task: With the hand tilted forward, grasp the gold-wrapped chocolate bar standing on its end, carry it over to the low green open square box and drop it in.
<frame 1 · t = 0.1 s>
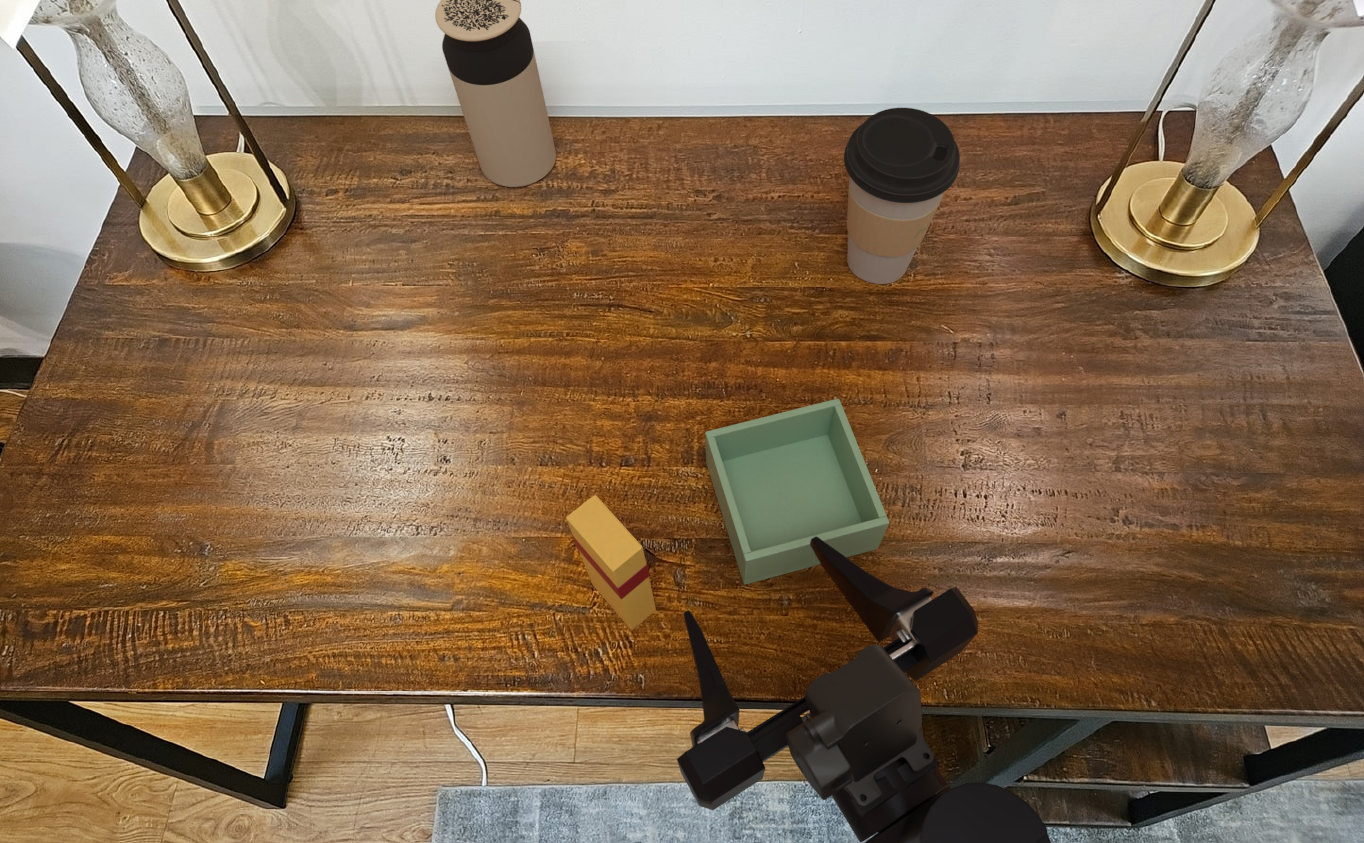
hand: (750, 575, 55), 15 cm above the table, tool horizontal, fingers open, 9 cm apart
green open square box: (789, 504, 73), on the table
travel mug: (519, 162, 93), on the table
coffee cup: (876, 261, 85), on the table
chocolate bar: (623, 597, 70), on the table
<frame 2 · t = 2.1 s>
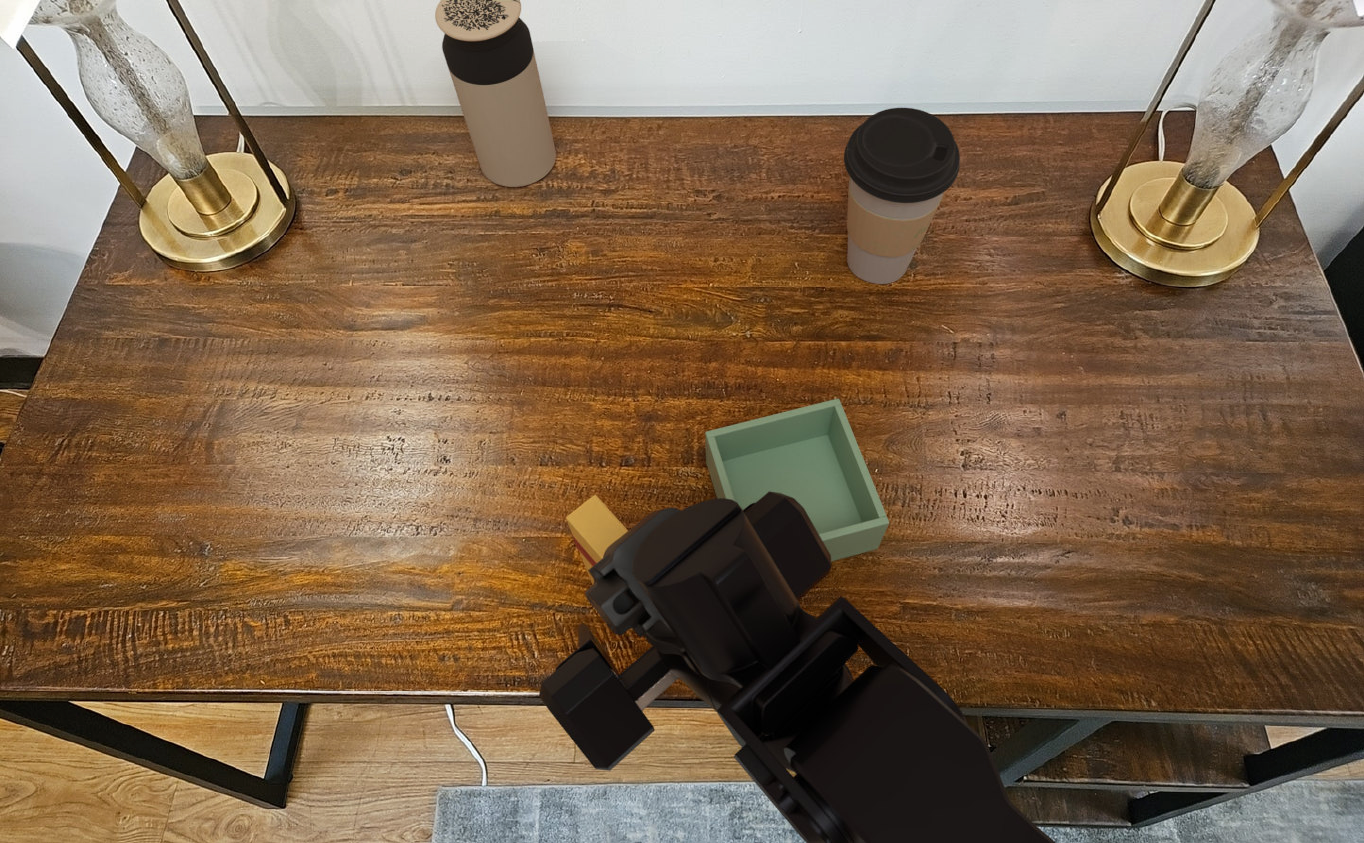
hand: (637, 584, 60), 10 cm above the table, tool tilted 45°, fingers open, 9 cm apart
nothing on the table moved.
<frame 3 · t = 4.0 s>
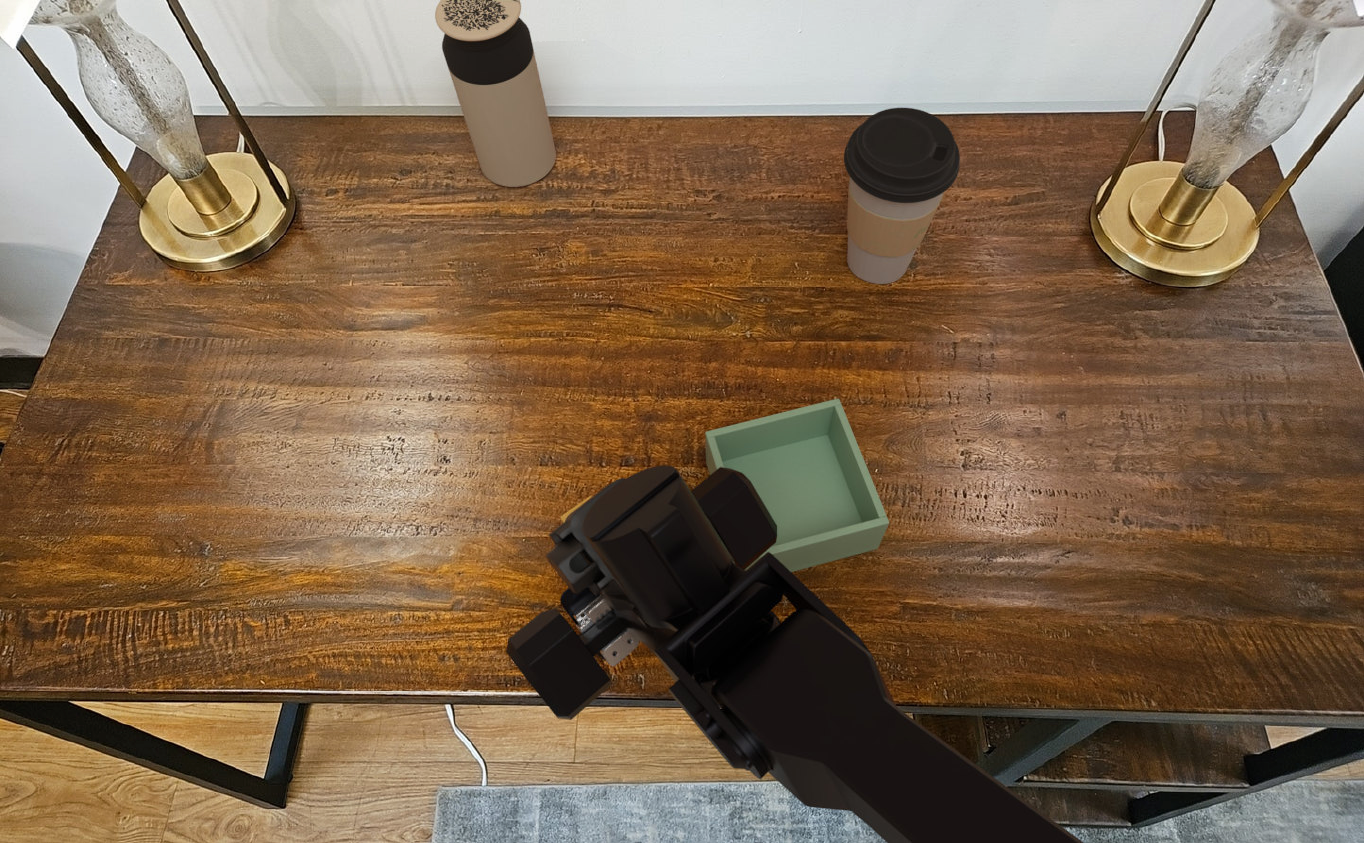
hand: (602, 555, 65), 7 cm above the table, tool tilted 45°, fingers closed on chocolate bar, 3 cm apart
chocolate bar: (627, 595, 70), on the table, touching gripper
everything else where it was.
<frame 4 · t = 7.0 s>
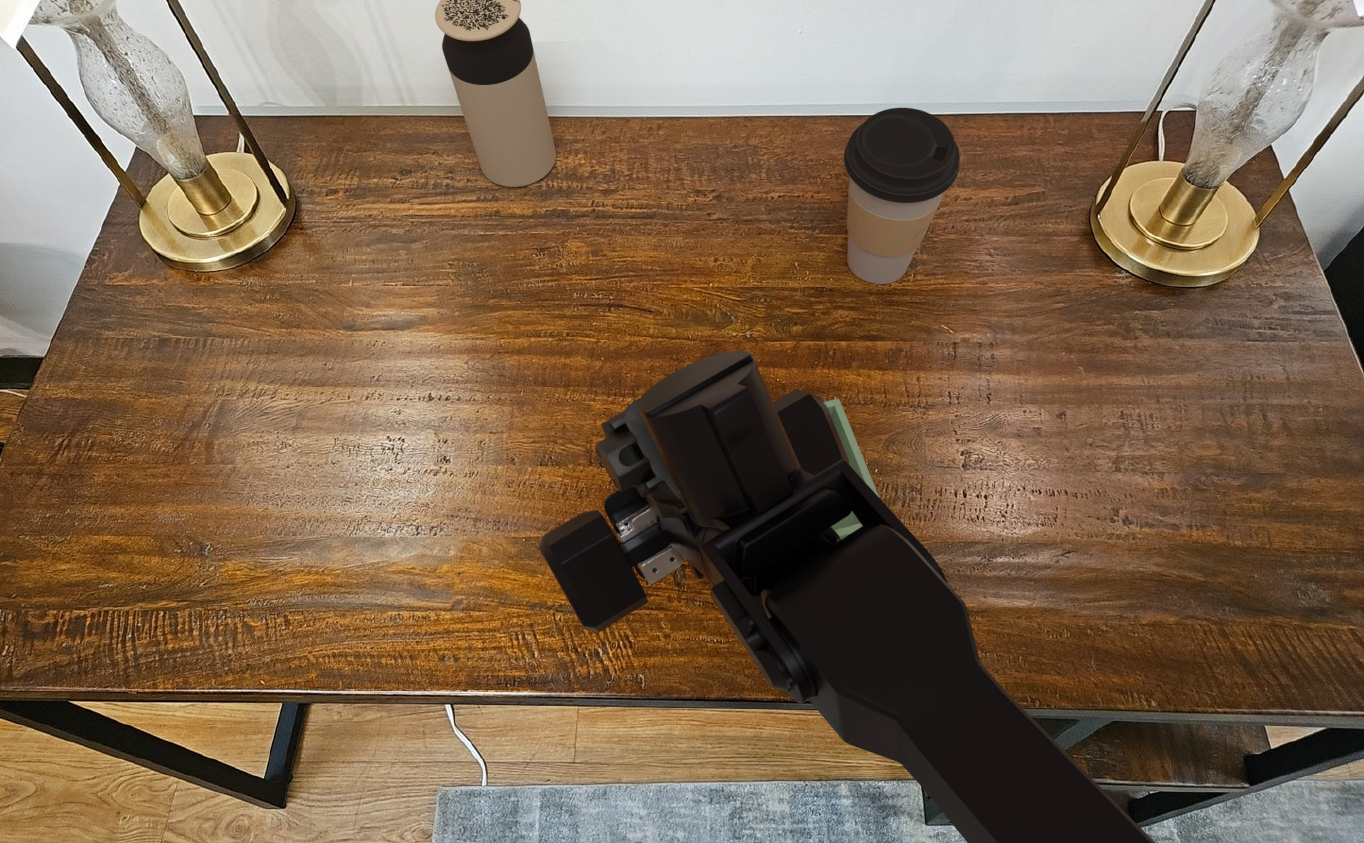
hand: (655, 474, 60), 13 cm above the table, tool tilted 45°, fingers closed on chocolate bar, 3 cm apart
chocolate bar: (675, 526, 65), point 7 cm above the table, touching gripper
everything else where it was.
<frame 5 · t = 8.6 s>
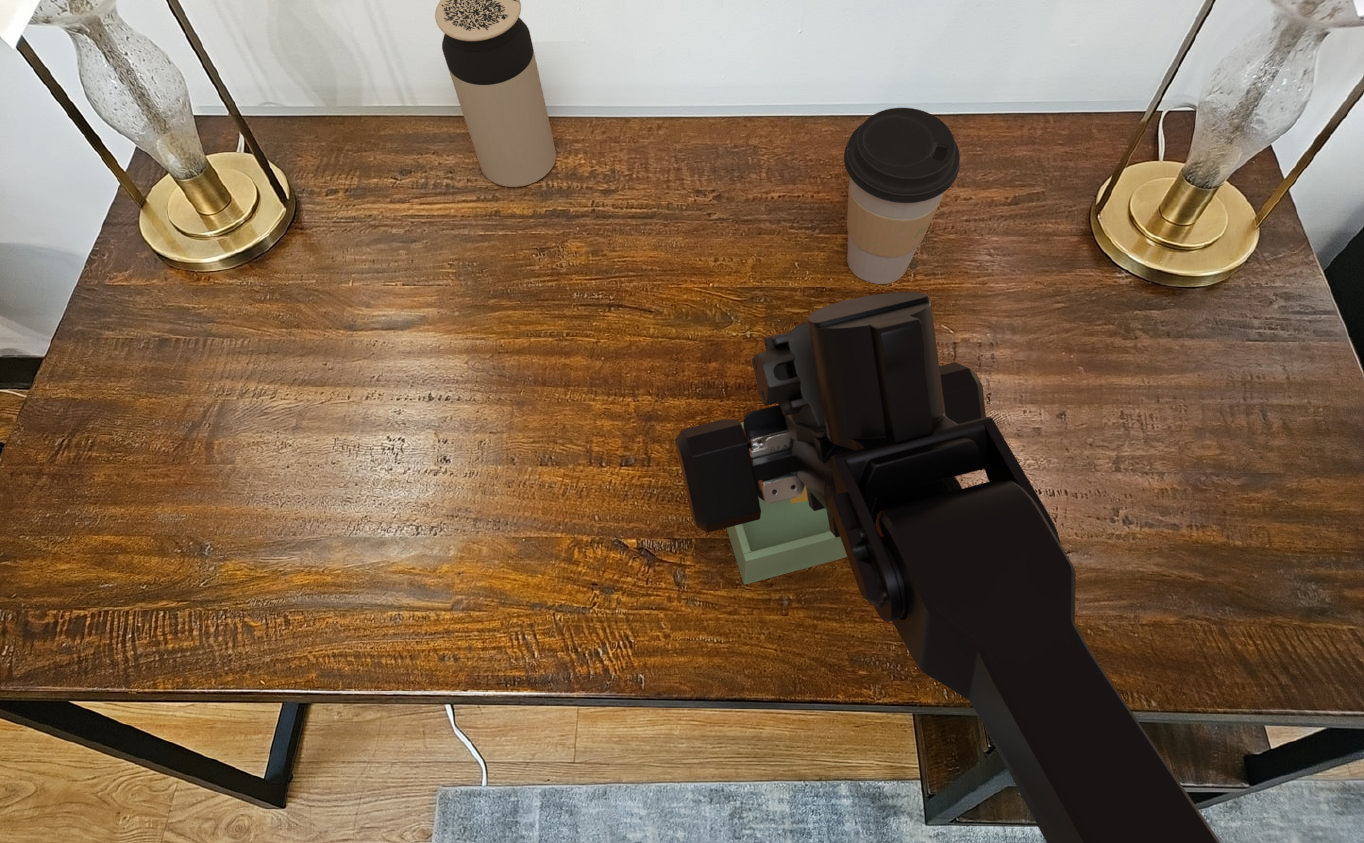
hand: (796, 412, 62), 13 cm above the table, tool tilted 45°, fingers closed on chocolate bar, 3 cm apart
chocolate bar: (800, 471, 67), point 7 cm above the table, touching gripper
everything else where it was.
when the fingers open (9 cm above the table, at t = 10.0 s): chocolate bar drops 2 cm, resting on green open square box.
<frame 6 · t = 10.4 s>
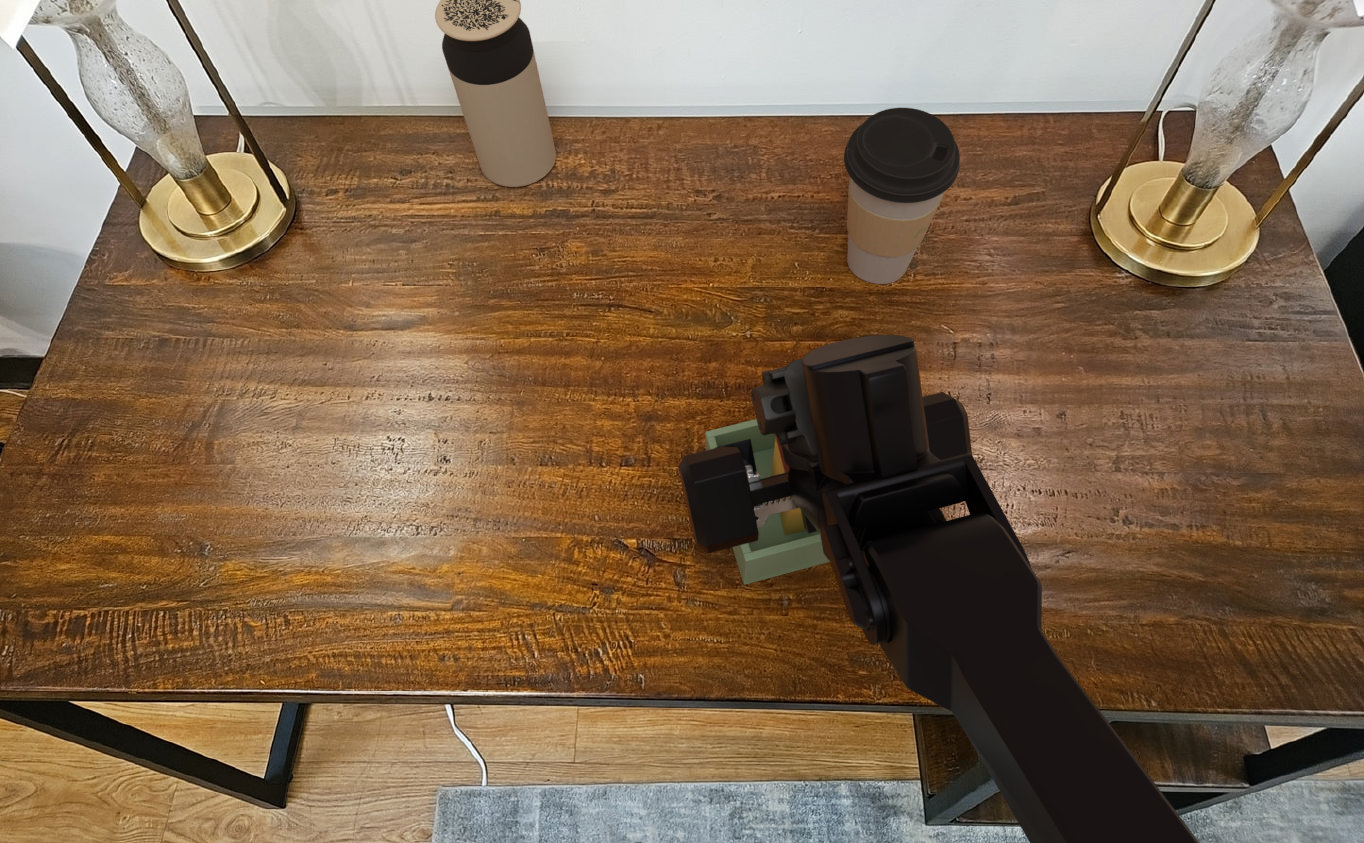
hand: (792, 436, 65), 10 cm above the table, tool tilted 45°, fingers open, 7 cm apart
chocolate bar: (792, 503, 73), point 1 cm above the table, touching green open square box
everything else where it was.
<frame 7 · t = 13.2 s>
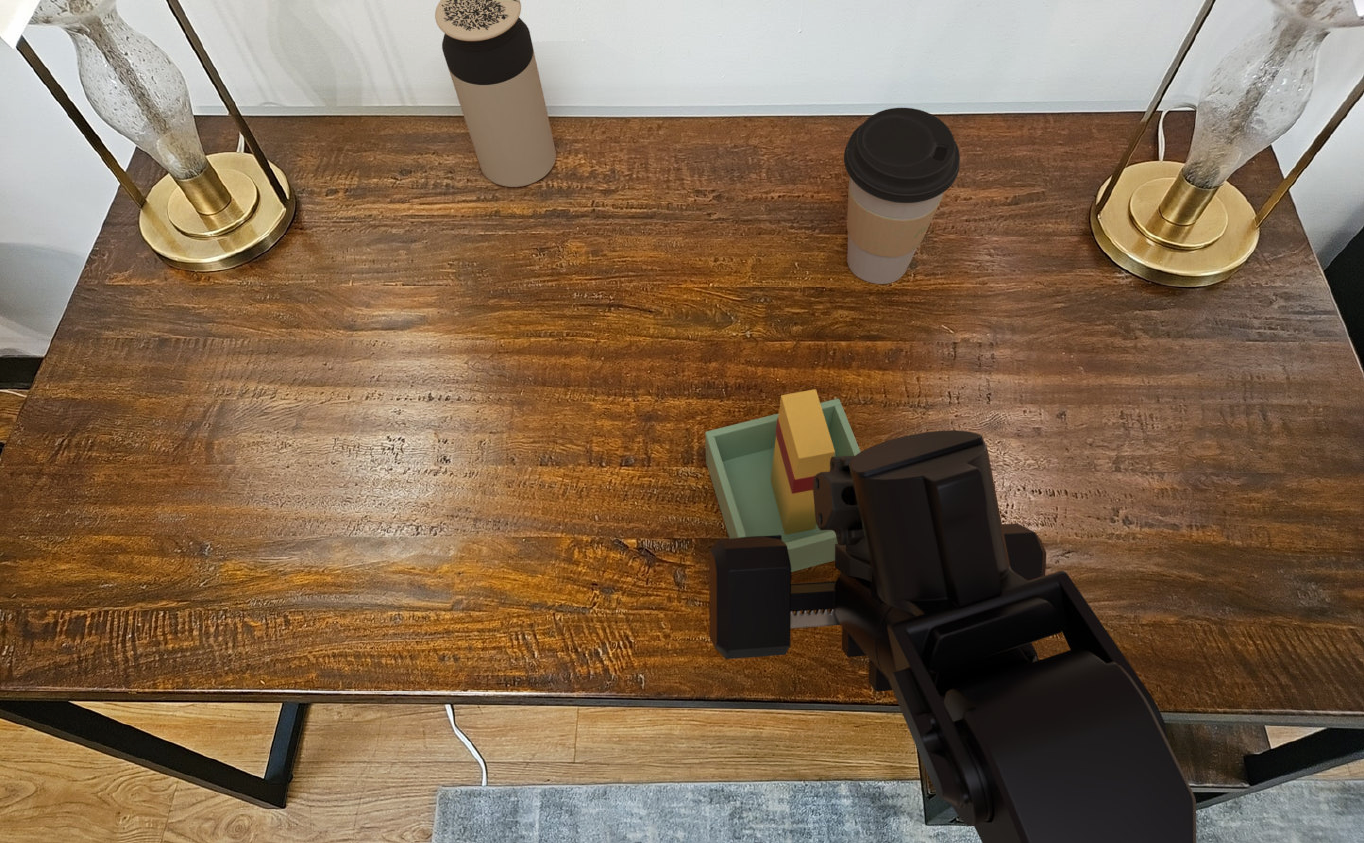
hand: (830, 545, 58), 13 cm above the table, tool tilted 40°, fingers open, 9 cm apart
nothing on the table moved.
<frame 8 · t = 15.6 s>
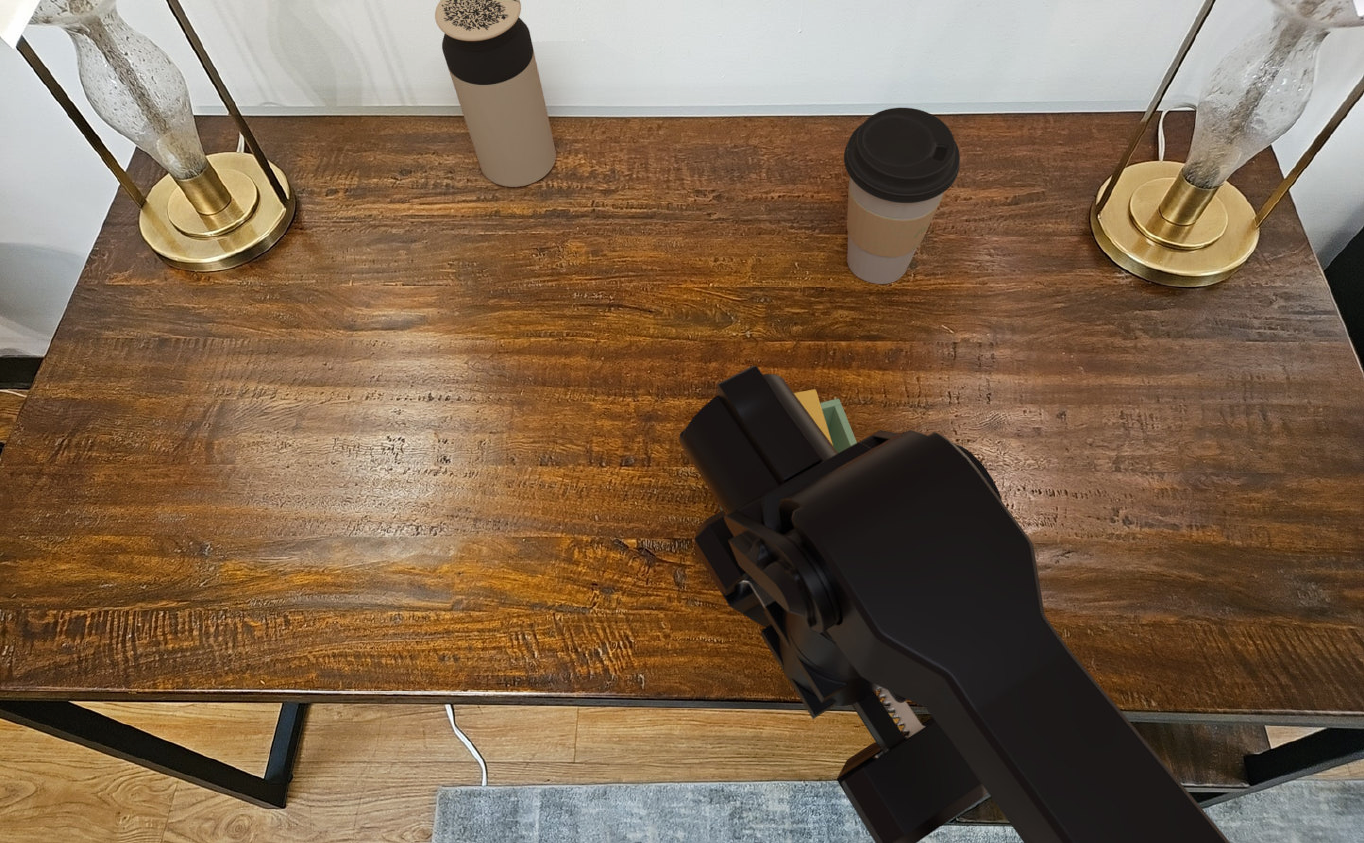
hand: (815, 687, 54), 13 cm above the table, tool pointing down, fingers open, 9 cm apart
nothing on the table moved.
at the end: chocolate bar inside the target area in the green open square box (0.3 cm from its centre), point 0.6 cm above the green open square box's base; the gripper is holding nothing; travel mug moved 0.2 cm from its start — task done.
